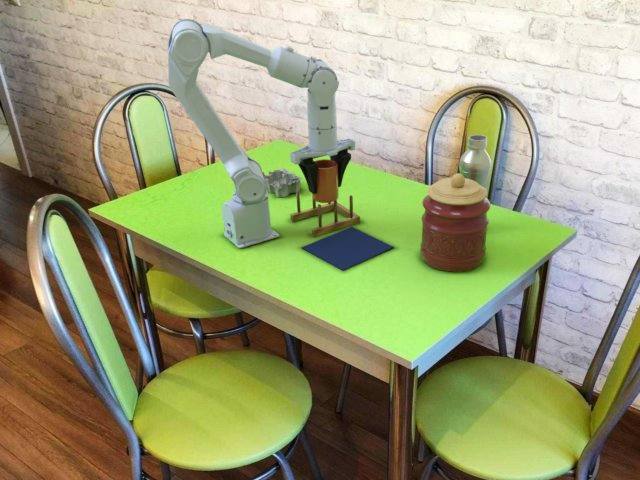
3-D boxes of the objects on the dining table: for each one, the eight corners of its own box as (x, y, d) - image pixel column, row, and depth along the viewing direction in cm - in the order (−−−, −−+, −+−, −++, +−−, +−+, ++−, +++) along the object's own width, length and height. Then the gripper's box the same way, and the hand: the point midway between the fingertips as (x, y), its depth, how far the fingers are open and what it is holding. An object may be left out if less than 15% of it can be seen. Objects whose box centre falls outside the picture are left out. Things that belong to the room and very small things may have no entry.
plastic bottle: (485, 235, 148) (494, 144, 137) (453, 232, 149) (459, 142, 138) (486, 222, 153) (495, 133, 142) (455, 220, 155) (462, 131, 144)
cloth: (343, 271, 136) (343, 269, 136) (301, 248, 144) (301, 247, 144) (393, 248, 144) (394, 246, 144) (351, 227, 152) (351, 226, 152)
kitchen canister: (430, 276, 134) (434, 190, 124) (412, 245, 144) (415, 164, 135) (494, 269, 136) (503, 184, 126) (472, 239, 146) (479, 159, 137)
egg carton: (256, 186, 172) (254, 170, 170) (282, 178, 176) (280, 163, 173) (279, 199, 165) (277, 183, 162) (305, 191, 168) (304, 175, 166)
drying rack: (313, 236, 148) (312, 207, 145) (290, 220, 155) (288, 191, 151) (360, 222, 154) (360, 193, 150) (335, 207, 161) (334, 179, 157)
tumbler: (321, 205, 145) (320, 171, 141) (307, 196, 149) (305, 162, 145) (343, 198, 148) (342, 165, 143) (329, 190, 151) (328, 157, 147)
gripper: (301, 137, 133) (305, 203, 141) (363, 123, 140) (363, 186, 148) (283, 128, 138) (287, 192, 146) (344, 115, 145) (345, 176, 153)
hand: (324, 188), depth 147 cm, fingers closed on tumbler, 5 cm apart
